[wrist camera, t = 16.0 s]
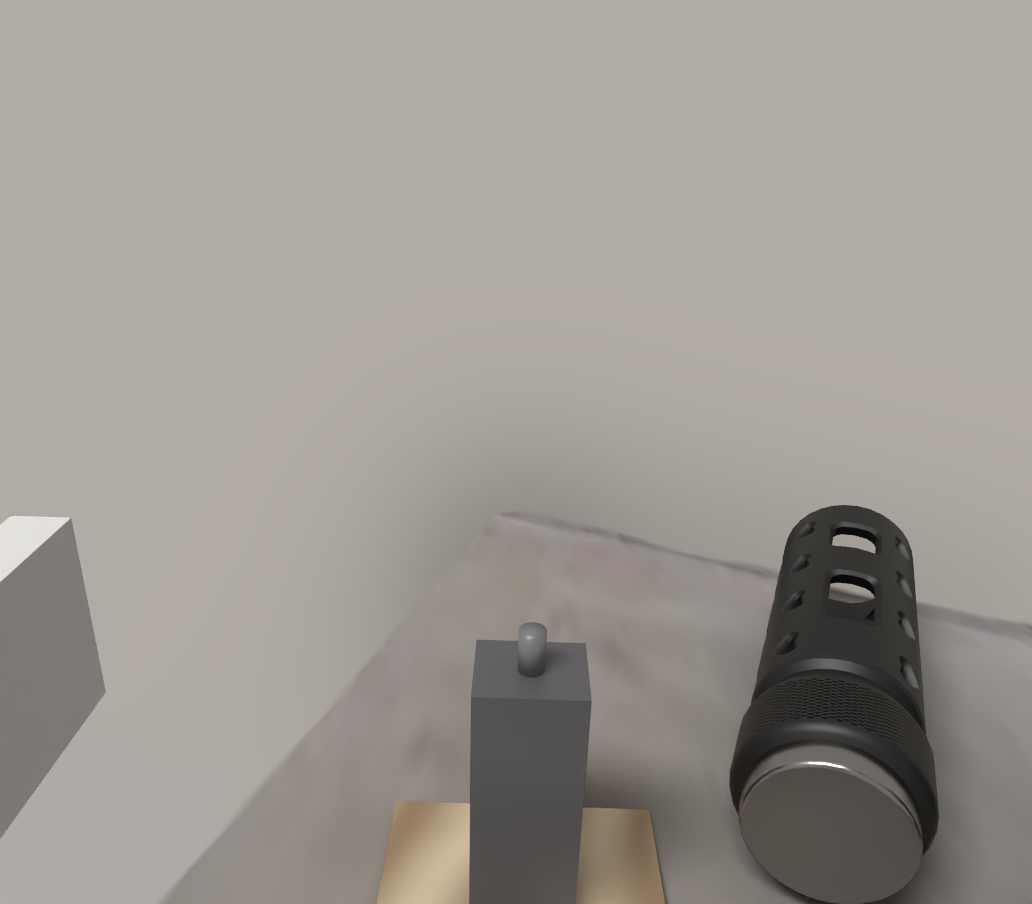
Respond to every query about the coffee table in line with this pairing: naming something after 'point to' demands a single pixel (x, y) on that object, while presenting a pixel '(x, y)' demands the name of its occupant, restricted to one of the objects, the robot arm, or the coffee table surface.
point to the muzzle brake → (839, 720)
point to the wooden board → (446, 851)
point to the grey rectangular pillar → (527, 768)
